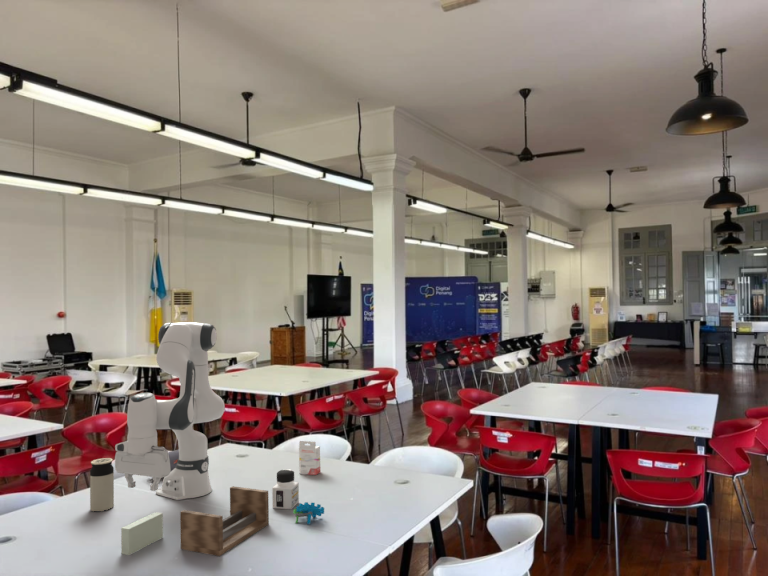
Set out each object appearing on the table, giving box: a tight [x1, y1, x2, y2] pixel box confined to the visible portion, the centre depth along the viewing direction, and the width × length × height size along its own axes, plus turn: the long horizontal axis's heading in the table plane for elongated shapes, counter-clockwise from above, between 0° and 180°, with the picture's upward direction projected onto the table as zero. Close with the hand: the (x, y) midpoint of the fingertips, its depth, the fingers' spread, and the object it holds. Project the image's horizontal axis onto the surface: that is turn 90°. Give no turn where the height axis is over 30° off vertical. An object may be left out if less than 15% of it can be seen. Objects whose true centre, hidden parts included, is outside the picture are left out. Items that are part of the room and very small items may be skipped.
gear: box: [292, 502, 325, 525], centre depth 194 cm, size 11×6×10 cm
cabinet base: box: [179, 486, 270, 557], centre depth 183 cm, size 15×26×12 cm, turn 158°
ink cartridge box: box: [298, 440, 321, 476], centre depth 251 cm, size 9×5×15 cm, turn 73°
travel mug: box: [89, 457, 115, 512], centre depth 212 cm, size 8×8×18 cm
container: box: [271, 468, 300, 510], centre depth 211 cm, size 8×8×13 cm
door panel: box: [120, 511, 164, 556], centre depth 177 cm, size 3×14×8 cm, turn 158°
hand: (142, 488), depth 178 cm, fingers open, 8 cm apart
